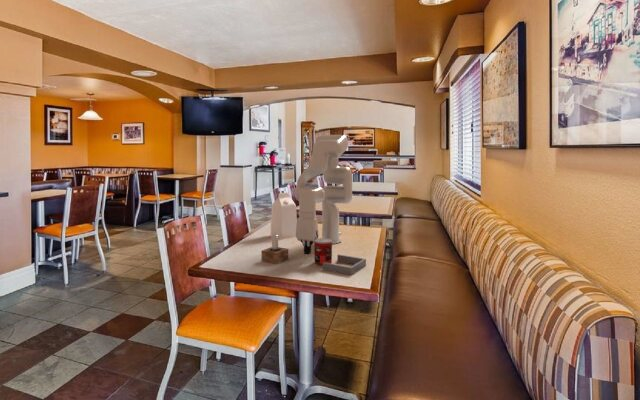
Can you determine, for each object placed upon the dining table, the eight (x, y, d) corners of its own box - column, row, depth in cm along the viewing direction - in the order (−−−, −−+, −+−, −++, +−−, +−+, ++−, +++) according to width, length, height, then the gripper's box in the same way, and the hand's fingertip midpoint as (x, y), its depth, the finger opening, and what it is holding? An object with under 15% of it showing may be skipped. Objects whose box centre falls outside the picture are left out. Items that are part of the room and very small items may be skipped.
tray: (338, 260, 173) (338, 254, 173) (365, 265, 166) (366, 259, 166) (322, 269, 161) (322, 262, 160) (351, 275, 154) (351, 268, 153)
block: (273, 256, 180) (273, 246, 179) (288, 259, 176) (288, 248, 175) (261, 261, 172) (261, 250, 172) (277, 264, 168) (276, 253, 167)
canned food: (313, 261, 172) (313, 238, 171) (330, 260, 173) (330, 238, 172) (314, 266, 165) (314, 242, 163) (332, 266, 166) (332, 242, 164)
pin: (274, 258, 176) (274, 234, 174) (279, 259, 175) (279, 234, 173) (270, 260, 174) (270, 235, 172) (275, 261, 172) (275, 236, 170)
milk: (286, 232, 232) (285, 191, 229) (297, 235, 224) (297, 193, 220) (270, 235, 224) (269, 192, 220) (281, 238, 216) (281, 194, 212)
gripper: (289, 215, 171) (289, 253, 173) (317, 218, 163) (317, 258, 166) (298, 212, 177) (298, 249, 180) (325, 215, 170) (325, 254, 172)
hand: (307, 253), depth 173 cm, fingers closed
